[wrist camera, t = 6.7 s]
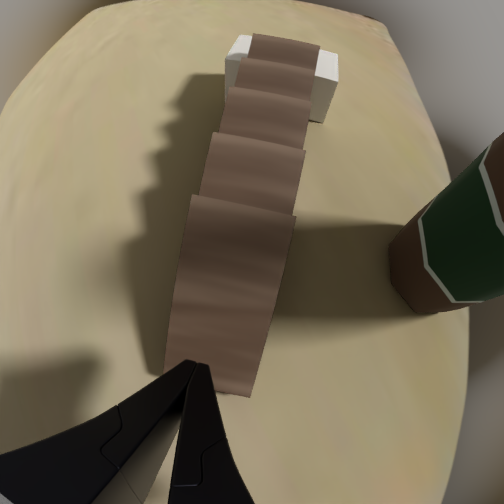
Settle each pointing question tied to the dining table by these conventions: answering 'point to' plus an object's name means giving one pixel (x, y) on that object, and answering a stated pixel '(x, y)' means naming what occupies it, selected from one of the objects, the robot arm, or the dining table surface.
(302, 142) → the domino
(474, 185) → the beer bottle
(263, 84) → the domino
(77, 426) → the robot arm
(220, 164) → the domino
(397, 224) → the dining table surface
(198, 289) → the domino
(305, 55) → the domino
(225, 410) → the dining table surface
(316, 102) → the end block
